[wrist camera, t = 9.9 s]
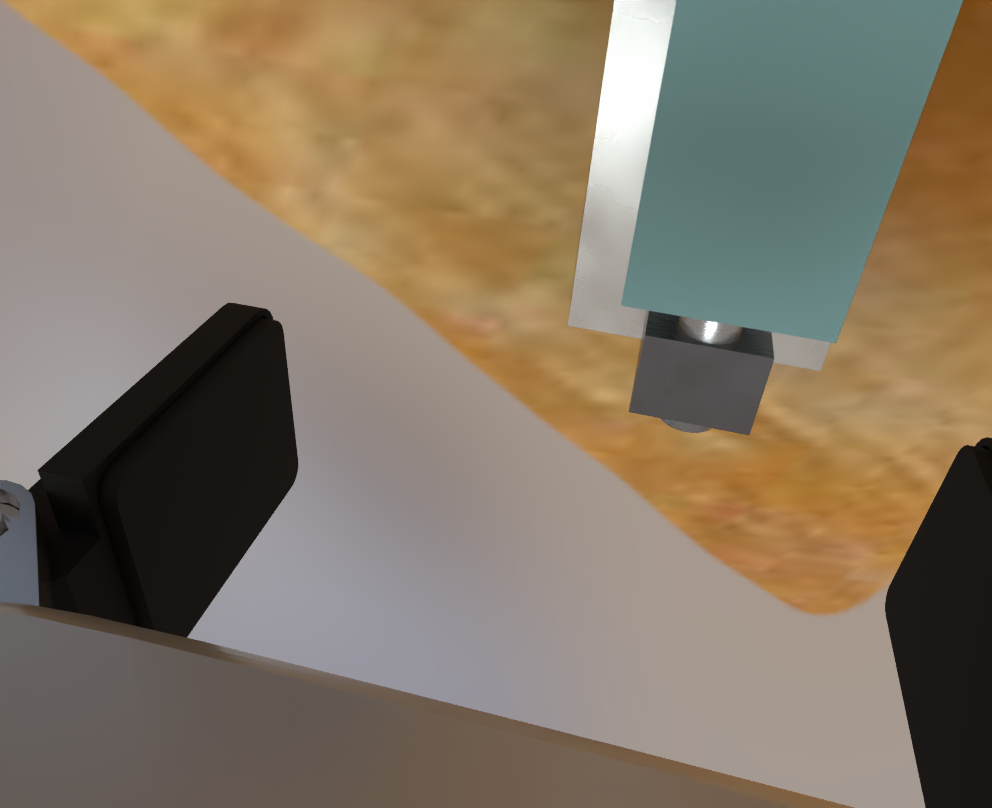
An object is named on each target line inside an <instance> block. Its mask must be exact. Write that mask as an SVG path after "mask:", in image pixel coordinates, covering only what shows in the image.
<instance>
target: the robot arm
mask: <svg viewBox="0 0 992 808" xmlns="http://www.w3.org/2000/svg"><path fill="white" fill-rule="evenodd" d="M297 471H298V457H297V448H296V439H295V430H294V421H293V412H292V403H291V394H290V386H289V377H288V368H287V360H286V351H285V341H284V333H283V328H282V325H281V323H280V322H278V321H275V320H273V317H272V315H271V313H270V311H268V310H267V309H264V308H258V307H253V306H247V305H241V304H236V303H227V304H226V305H224V306H223V307H222V308H220V309H219V310H218V311H217V312H216V313H215V314H214V315H213V316H212V317H210V318H209V319H208V320H207V321H206V322H205V323H203V324H202V325H201V326H200V327H199V328H198V329H197V330H196V331H195V332H193V333H192V334H191V335H190V336H189V337H188V338H187V339H185V340H184V341H183V342H182V343H181V344H180V345H179V346H177V347H176V348H175V349H174V350H173V351H172V352H171V353H170V354H168V355H167V356H166V357H165V358H164V359H163V360H162V361H161V362H159V363H158V364H157V365H156V366H155V367H154V368H153V369H151V370H150V371H149V372H148V373H147V374H146V375H145V376H144V377H143V378H141V379H140V380H139V381H138V382H137V383H136V384H135V385H133V386H132V387H131V388H130V389H129V390H128V391H127V392H125V393H124V394H123V395H122V396H121V397H120V398H119V399H118V400H116V401H115V402H114V403H113V404H112V405H111V406H110V407H109V408H107V409H106V410H105V411H104V412H103V413H102V414H101V415H99V416H98V417H97V418H96V419H95V420H94V421H93V422H92V423H90V424H89V425H88V426H87V427H86V428H85V429H84V430H83V431H82V432H80V433H79V434H78V435H77V436H76V437H75V438H73V439H72V440H71V441H70V442H69V443H68V444H67V445H66V446H64V447H63V448H62V449H61V450H60V451H59V452H58V453H57V454H55V455H54V456H53V457H52V458H51V459H50V460H49V461H48V462H46V463H45V464H44V465H43V466H42V467H41V468H40V469H39V470H38V472H39V475H40V477H41V479H40V480H39V481H38V482H37V483H35V484H34V485H33V486H32V487H31V488H30V489H29V490H27V489H25V488H24V487H23V486H22V485H20V484H16V483H13V482H10V481H7V480H0V808H853V807H850V806H846V805H842V804H838V803H835V802H831V801H826V800H823V799H819V798H815V797H811V796H808V795H804V794H800V793H796V792H792V791H788V790H785V789H780V788H777V787H773V786H769V785H765V784H762V783H758V782H754V781H750V780H746V779H742V778H738V777H734V776H731V775H727V774H723V773H719V772H715V771H712V770H708V769H704V768H700V767H696V766H692V765H688V764H684V763H680V762H677V761H673V760H669V759H665V758H662V757H658V756H654V755H650V754H646V753H642V752H638V751H635V750H630V749H627V748H623V747H619V746H615V745H611V744H607V743H603V742H599V741H595V740H592V739H588V738H584V737H580V736H576V735H572V734H568V733H564V732H560V731H556V730H553V729H549V728H545V727H541V726H537V725H533V724H528V723H525V722H521V721H517V720H513V719H509V718H506V717H501V716H498V715H494V714H490V713H486V712H482V711H478V710H473V709H470V708H466V707H462V706H458V705H454V704H450V703H446V702H442V701H438V700H435V699H431V698H426V697H422V696H418V695H415V694H411V693H407V692H403V691H399V690H395V689H391V688H387V687H383V686H379V685H375V684H371V683H367V682H363V681H359V680H355V679H351V678H347V677H343V676H339V675H335V674H331V673H327V672H323V671H319V670H315V669H311V668H307V667H303V666H298V665H294V664H291V663H287V662H283V661H279V660H275V659H271V658H267V657H263V656H259V655H254V654H251V653H246V652H243V651H239V650H235V649H231V648H226V647H222V646H218V645H214V644H210V643H206V642H202V641H198V640H194V639H190V638H187V636H188V635H189V634H190V632H191V631H192V629H193V628H194V626H195V625H196V624H197V622H198V621H199V619H200V618H201V616H202V615H203V613H204V612H205V611H206V609H207V608H208V606H209V605H210V603H211V602H212V600H213V599H214V598H215V596H216V595H217V593H218V592H219V590H220V589H221V588H222V586H223V584H224V583H225V582H226V580H227V579H228V578H229V576H230V575H231V573H232V572H233V570H234V569H235V567H236V566H237V565H238V563H239V562H240V560H241V559H242V557H243V556H244V554H245V553H246V551H247V550H248V549H249V547H250V546H251V544H252V543H253V542H254V540H255V539H256V537H257V536H258V534H259V533H260V532H261V530H262V529H263V527H264V526H265V524H266V523H267V522H268V520H269V518H270V517H271V516H272V514H273V513H274V511H275V510H276V508H277V507H278V505H279V504H280V503H281V501H282V500H283V499H284V497H285V496H286V494H287V493H288V491H289V490H290V488H291V487H292V485H293V483H294V481H295V479H296V475H297ZM885 612H886V619H887V623H888V628H889V633H890V638H891V643H892V648H893V652H894V657H895V662H896V667H897V672H898V677H899V681H900V686H901V691H902V696H903V700H904V705H905V710H906V715H907V720H908V725H909V729H910V734H911V739H912V744H913V749H914V754H915V758H916V763H917V768H918V773H919V778H920V783H921V788H922V792H923V796H924V802H925V807H926V808H992V438H988V437H987V438H983V439H981V440H980V441H979V442H978V443H977V444H976V446H975V447H974V446H969V445H967V446H964V447H962V448H961V449H960V451H959V452H958V454H957V455H956V457H955V459H954V461H953V463H952V465H951V467H950V469H949V471H948V473H947V475H946V477H945V479H944V481H943V483H942V485H941V487H940V489H939V491H938V492H937V494H936V496H935V498H934V500H933V502H932V504H931V506H930V508H929V510H928V512H927V514H926V516H925V518H924V520H923V522H922V524H921V526H920V528H919V529H918V531H917V533H916V535H915V537H914V539H913V541H912V543H911V545H910V547H909V549H908V551H907V553H906V555H905V557H904V559H903V561H902V563H901V565H900V567H899V568H898V570H897V572H896V574H895V576H894V578H893V580H892V582H891V584H890V586H889V589H888V592H887V596H886V603H885Z"/></svg>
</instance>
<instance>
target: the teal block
mask: <svg viewBox="0 0 992 808" xmlns="http://www.w3.org/2000/svg"><path fill="white" fill-rule="evenodd" d="M962 2H963V0H676V6H675V11H674V17H673V22H672V27H671V33H670V38H669V44H668V49H667V55H666V60H665V66H664V71H663V77H662V82H661V88H660V93H659V99H658V104H657V110H656V115H655V121H654V126H653V132H652V137H651V143H650V148H649V154H648V159H647V165H646V170H645V176H644V181H643V187H642V192H641V198H640V203H639V209H638V214H637V220H636V225H635V231H634V236H633V242H632V247H631V253H630V258H629V264H628V269H627V275H626V280H625V286H624V291H623V297H622V302H621V306H626V307H631V308H637V309H643V310H648V311H654V312H660V313H666V314H671V315H677V316H683V317H689V318H694V319H700V320H706V321H711V322H717V323H723V324H729V325H734V326H740V327H746V328H751V329H757V330H763V331H769V332H774V333H780V334H786V335H792V336H797V337H803V338H809V339H814V340H820V341H826V342H832V343H836V341H837V339H838V336H839V333H840V331H841V328H842V325H843V323H844V320H845V317H846V314H847V312H848V309H849V306H850V304H851V301H852V298H853V296H854V293H855V290H856V288H857V285H858V282H859V280H860V277H861V274H862V271H863V269H864V266H865V263H866V261H867V258H868V255H869V253H870V250H871V247H872V245H873V242H874V239H875V236H876V234H877V231H878V228H879V226H880V223H881V220H882V218H883V215H884V212H885V210H886V207H887V204H888V201H889V199H890V196H891V193H892V191H893V188H894V185H895V183H896V180H897V177H898V175H899V172H900V169H901V167H902V164H903V161H904V158H905V156H906V153H907V150H908V148H909V145H910V142H911V140H912V137H913V134H914V132H915V129H916V126H917V123H918V121H919V118H920V115H921V113H922V110H923V107H924V105H925V102H926V99H927V97H928V94H929V91H930V88H931V86H932V83H933V80H934V78H935V75H936V72H937V70H938V67H939V64H940V62H941V59H942V56H943V54H944V51H945V48H946V45H947V43H948V40H949V37H950V35H951V32H952V29H953V27H954V24H955V21H956V19H957V16H958V13H959V10H960V8H961V5H962Z"/></svg>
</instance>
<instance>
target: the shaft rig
mask: <svg viewBox="0 0 992 808" xmlns="http://www.w3.org/2000/svg"><path fill="white" fill-rule="evenodd" d="M675 6H676V0H614V7H613V14H612V21H611V28H610V35H609V42H608V49H607V56H606V63H605V70H604V77H603V84H602V91H601V98H600V105H599V112H598V119H597V126H596V133H595V140H594V147H593V154H592V161H591V168H590V175H589V182H588V189H587V196H586V203H585V210H584V217H583V224H582V231H581V238H580V245H579V252H578V259H577V266H576V273H575V280H574V287H573V294H572V301H571V308H570V315H569V321H568V326H573V327H578V328H584V329H589V330H595V331H600V332H606V333H612V334H617V335H623V336H628V337H634V338H639V339H641V345H640V350H639V356H638V362H637V368H636V373H635V379H634V385H633V391H632V396H631V402H630V408H629V412H632V413H637V414H642V415H647V416H653V417H658V418H661V419H662V420H663V421H664V422H665V423H666V424H667V425H669V426H671V427H673V428H675V429H677V430H680V431H684V432H690V433H700V432H705V431H708V430H710V429H711V428H714V429H720V430H725V431H730V432H735V433H740V434H745V435H749V434H750V431H751V428H752V425H753V422H754V419H755V416H756V413H757V410H758V407H759V404H760V401H761V398H762V395H763V392H764V388H765V385H766V382H767V379H768V376H769V373H770V370H771V367H772V364H773V363H778V364H784V365H790V366H795V367H801V368H806V369H812V370H817V371H821V368H822V365H823V363H824V360H825V357H826V354H827V352H828V349H829V346H830V344H831V342H826V341H820V340H814V339H809V338H803V337H797V336H792V335H786V334H780V333H774V332H769V331H763V330H757V329H751V328H746V327H740V326H734V325H729V324H723V323H717V322H711V321H706V320H700V319H694V318H689V317H683V316H677V315H671V314H666V313H660V312H654V311H648V310H643V309H637V308H631V307H626V306H621V302H622V297H623V291H624V286H625V280H626V275H627V269H628V264H629V258H630V253H631V247H632V242H633V236H634V231H635V225H636V220H637V214H638V209H639V203H640V198H641V192H642V187H643V181H644V176H645V170H646V165H647V159H648V154H649V148H650V143H651V137H652V132H653V126H654V121H655V115H656V110H657V104H658V99H659V93H660V88H661V82H662V77H663V71H664V66H665V60H666V55H667V49H668V44H669V38H670V33H671V27H672V22H673V17H674V11H675Z"/></svg>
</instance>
